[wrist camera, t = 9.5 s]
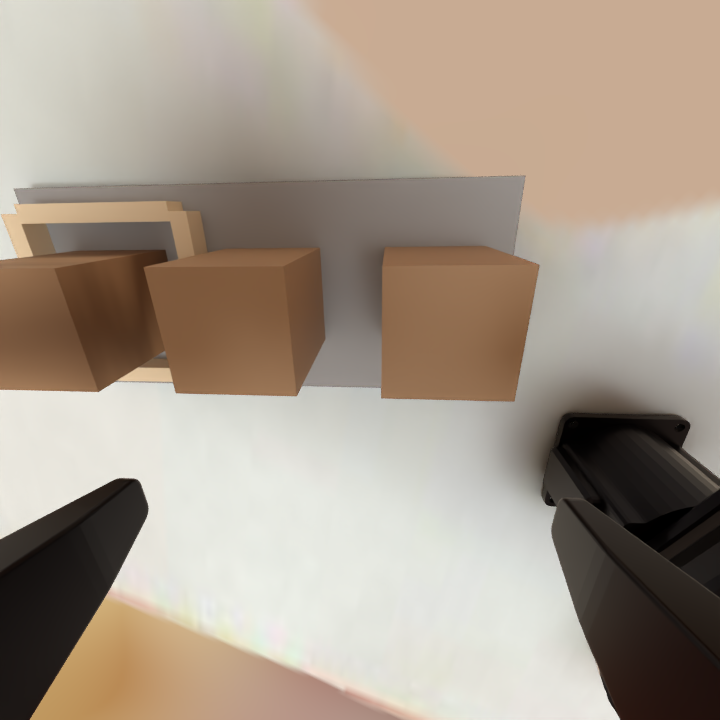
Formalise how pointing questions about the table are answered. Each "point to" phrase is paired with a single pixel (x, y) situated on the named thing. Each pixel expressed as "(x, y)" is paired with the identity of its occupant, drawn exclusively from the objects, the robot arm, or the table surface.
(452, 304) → the holder
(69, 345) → the walnut block
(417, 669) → the table surface
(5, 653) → the robot arm
